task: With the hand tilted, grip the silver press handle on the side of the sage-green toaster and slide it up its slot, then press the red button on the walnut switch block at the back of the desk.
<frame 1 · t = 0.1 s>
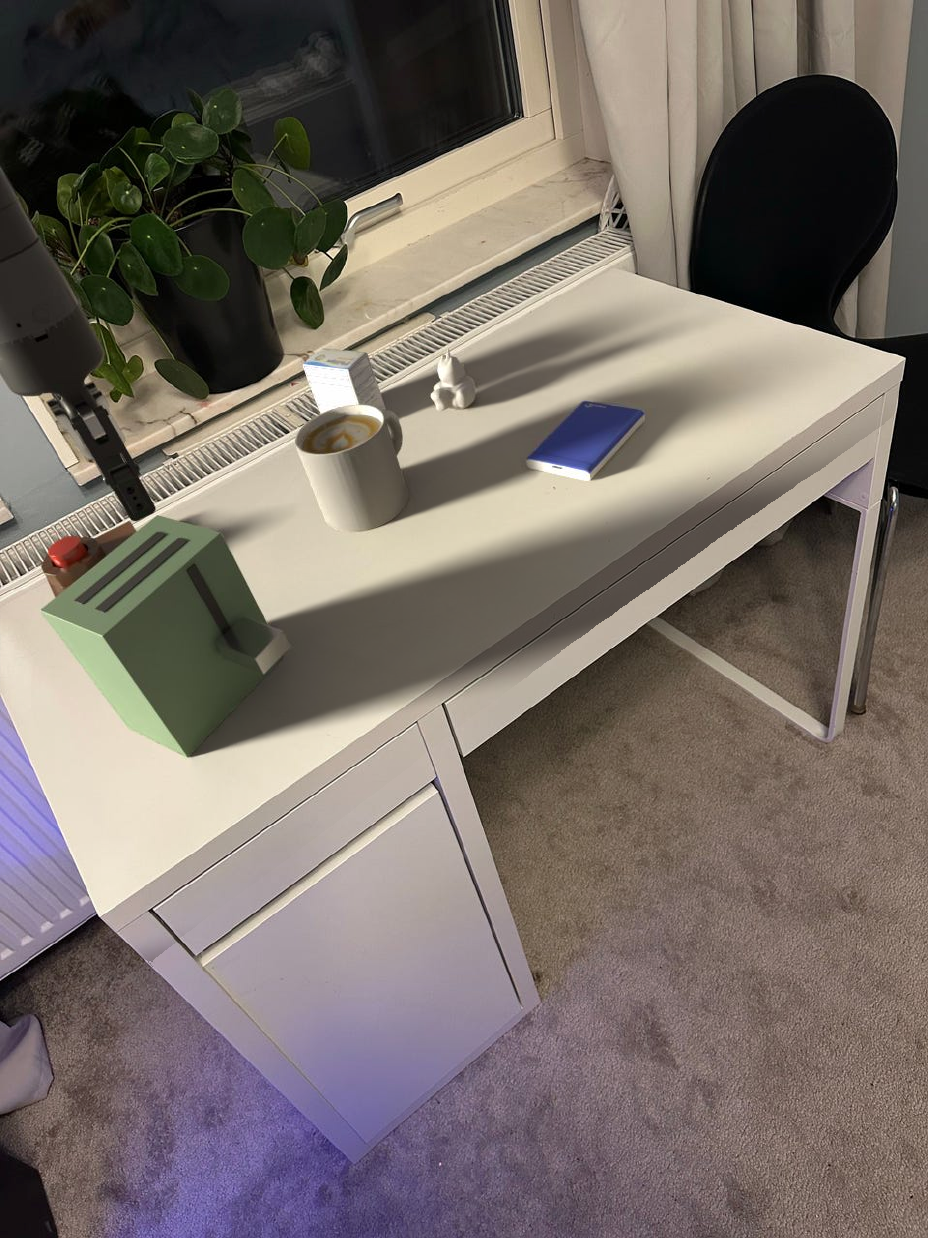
hand: (130, 495, 72), 18 cm above the table, tool pointing down, fingers open, 8 cm apart
coffee mug: (377, 498, 97), on the table
power button: (67, 551, 94), point 4 cm above the table, slide at 0.1 cm
switch block: (104, 573, 97), on the table
toaster lever: (252, 644, 72), point 6 cm above the table, slide at 0.0 cm
hard drive: (587, 446, 96), on the table
medicine box: (355, 418, 112), on the table
toaster: (207, 691, 79), on the table
white seated figurine: (457, 410, 108), on the table
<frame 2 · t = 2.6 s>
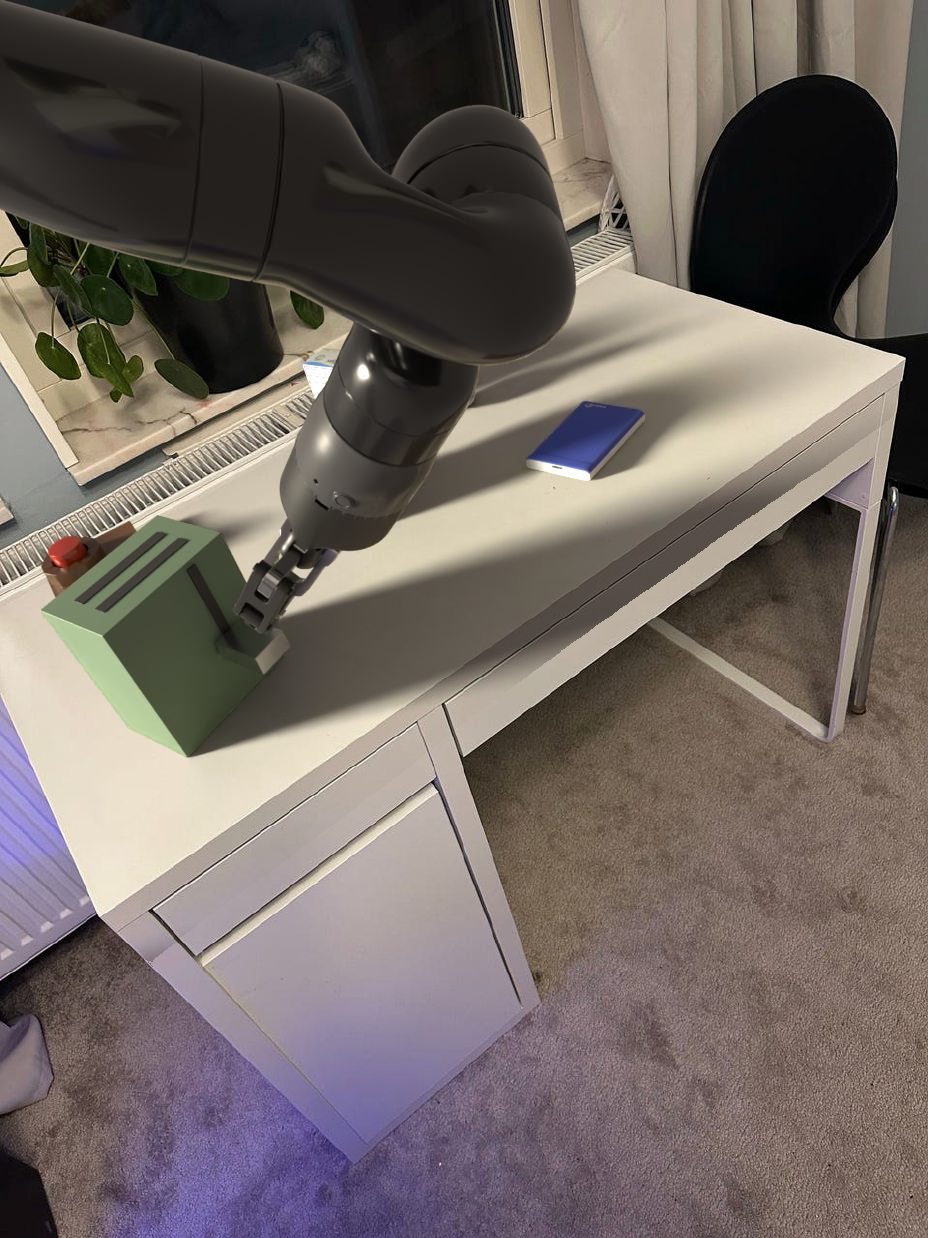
hand: (291, 584, 62), 15 cm above the table, tool tilted 40°, fingers open, 8 cm apart
nothing on the table moved.
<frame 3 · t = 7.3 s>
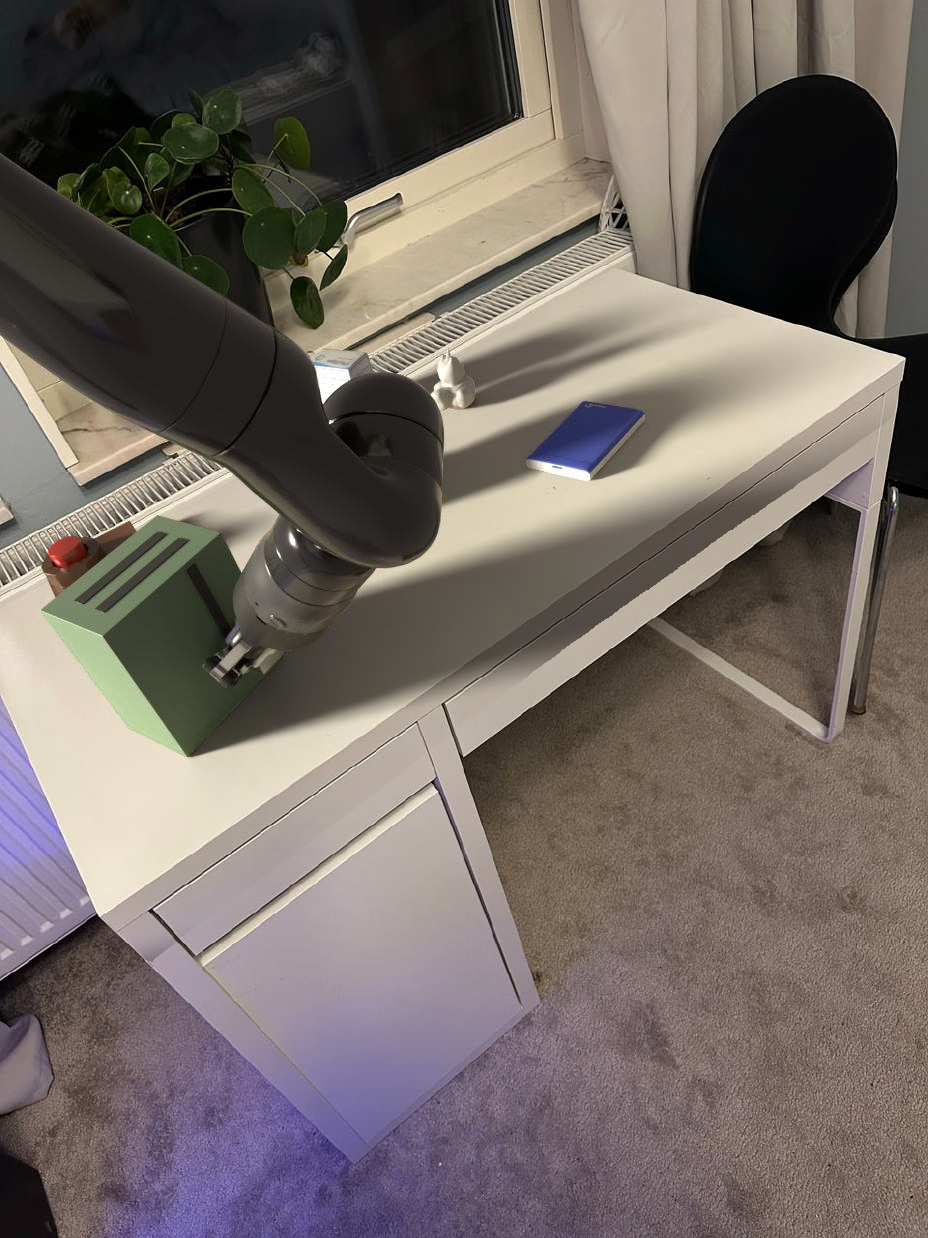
hand: (245, 655, 74), 4 cm above the table, tool tilted 45°, fingers closed on toaster lever, 3 cm apart
toaster lever: (252, 645, 72), point 6 cm above the table, slide at 0.0 cm, touching gripper
everything else where it was.
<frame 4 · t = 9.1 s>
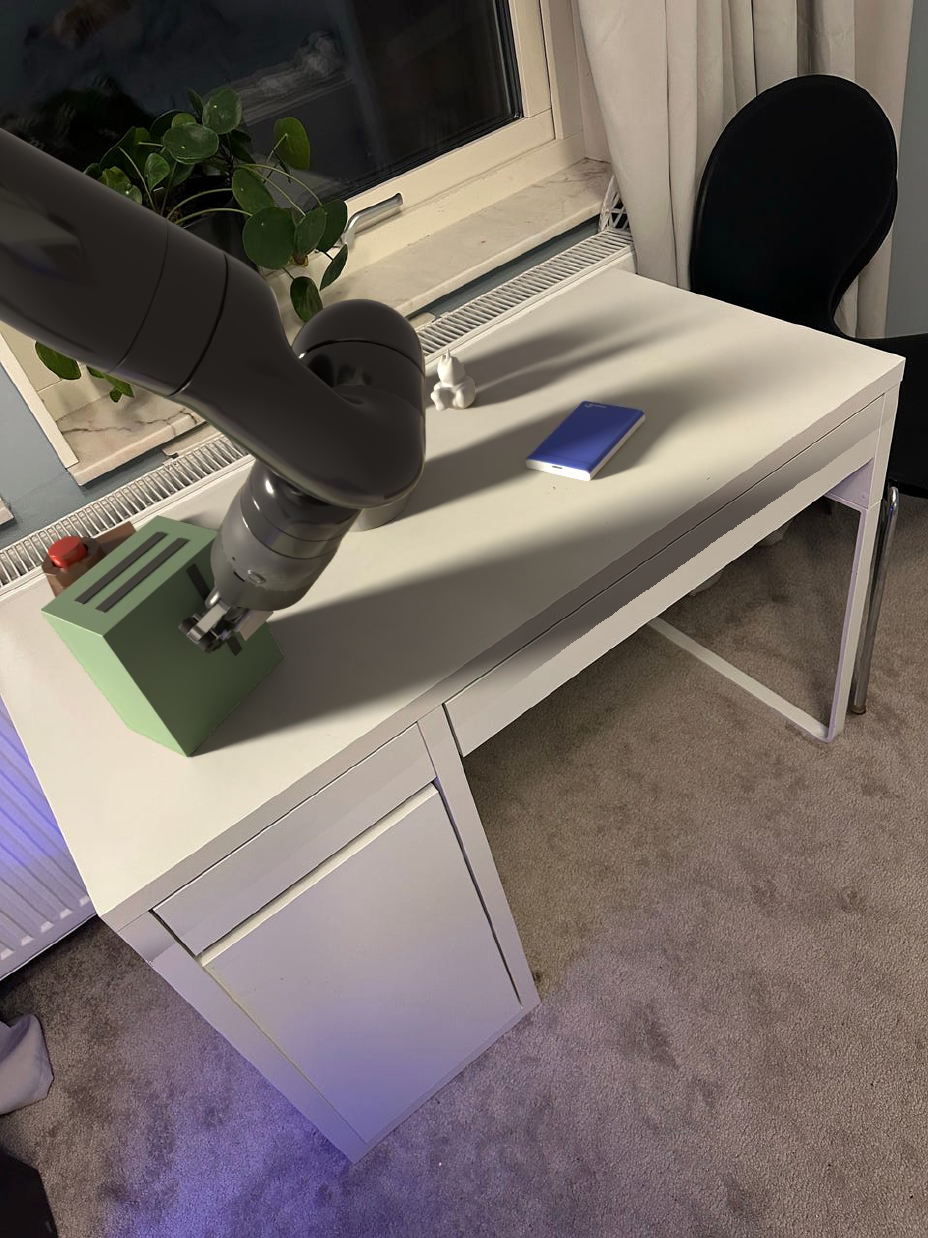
hand: (227, 622, 72), 9 cm above the table, tool tilted 45°, fingers closed on toaster lever, 3 cm apart
toaster lever: (234, 610, 69), point 11 cm above the table, slide at 4.0 cm, touching gripper
everything else where it was.
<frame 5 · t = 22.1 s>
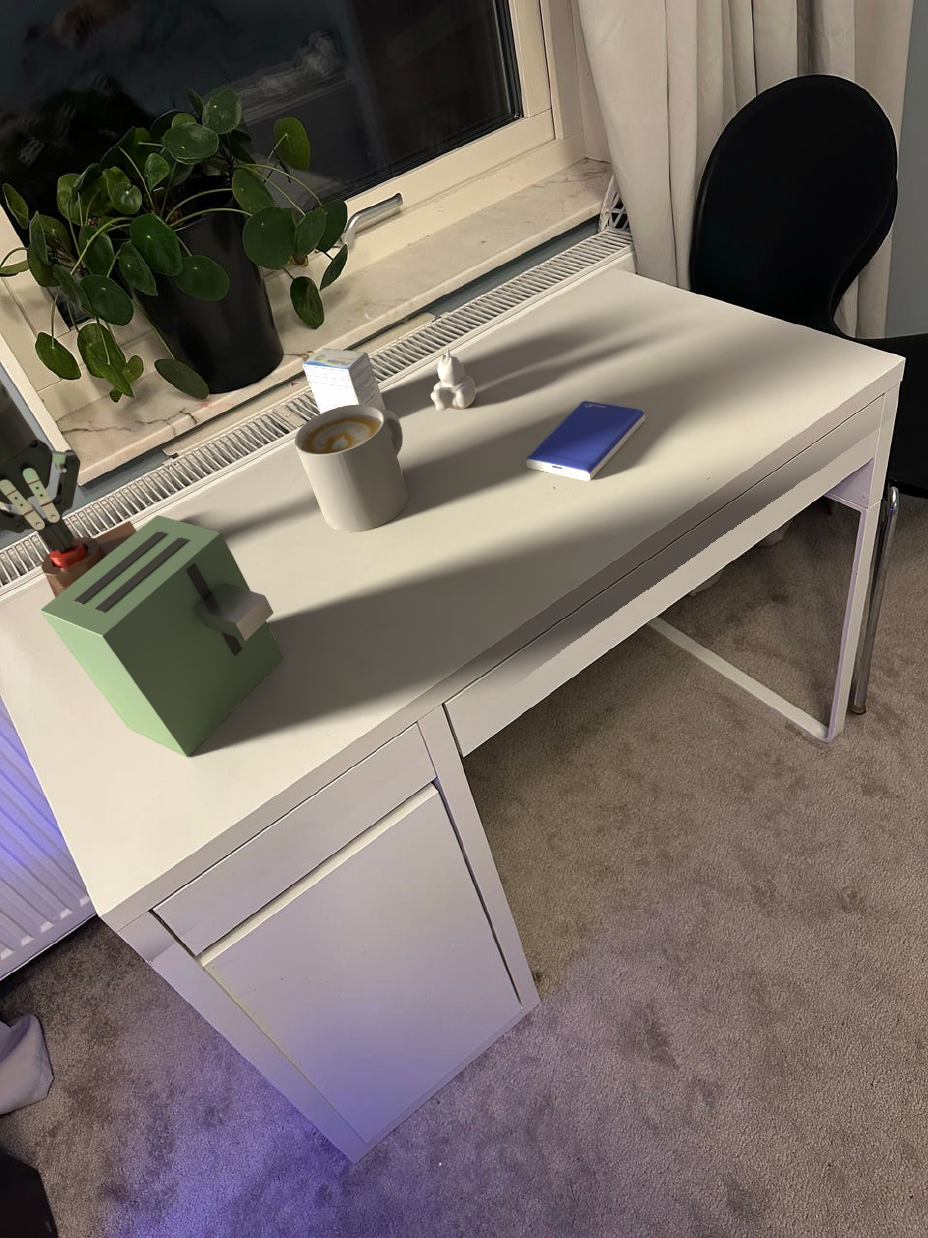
hand: (65, 547, 93), 5 cm above the table, tool pointing down, fingers closed
power button: (69, 554, 94), point 4 cm above the table, slide at -0.3 cm, touching gripper
toaster lever: (234, 610, 69), point 11 cm above the table, slide at 4.0 cm
everything else where it was.
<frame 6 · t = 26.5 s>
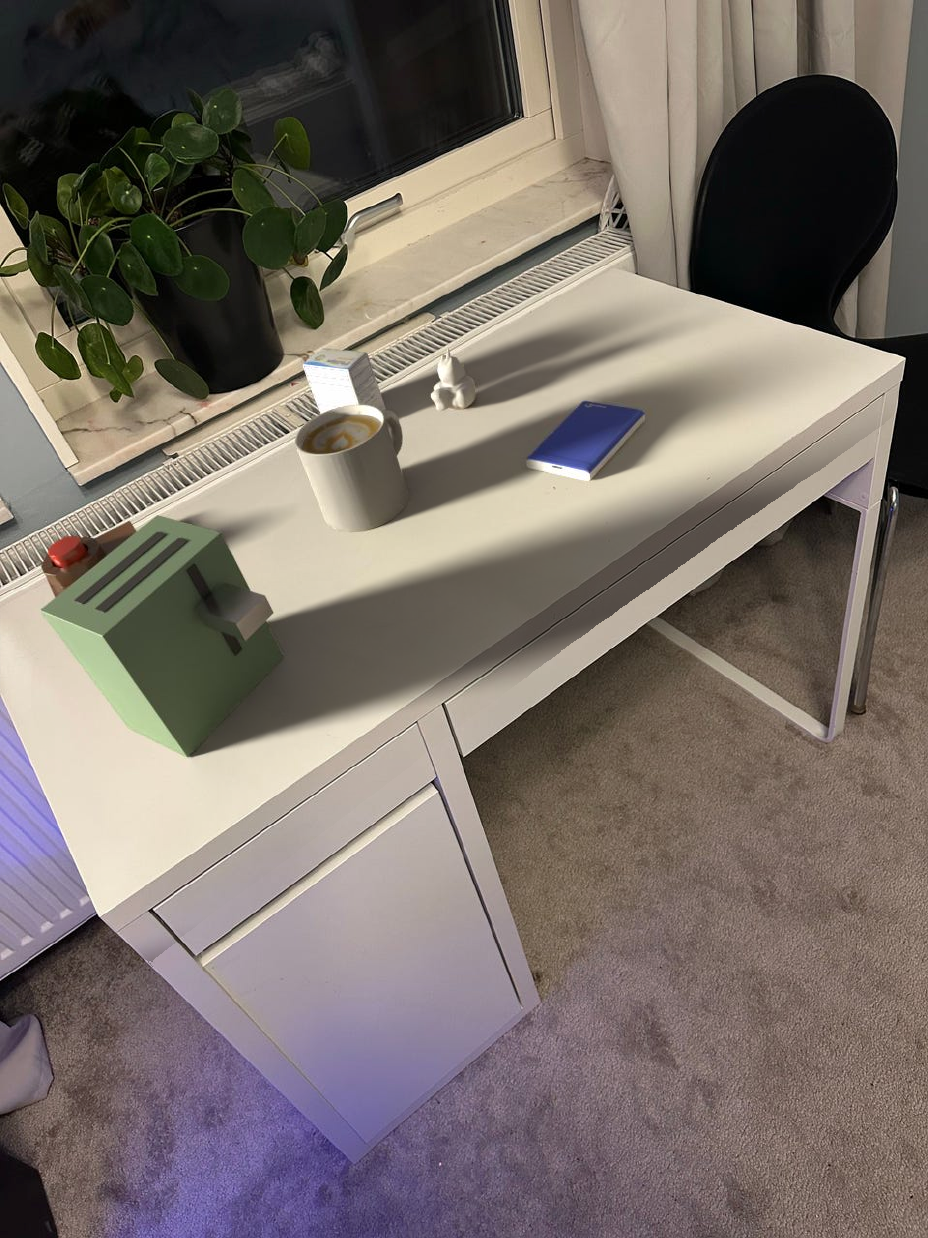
power button: (67, 551, 94), point 4 cm above the table, slide at 0.1 cm
everything else where it was.
at the end: toaster lever slide at 4.0 cm; power button pushed in 1.0 cm at the most during the clip, back to where it started at the end; power button slide at 0.1 cm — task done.
